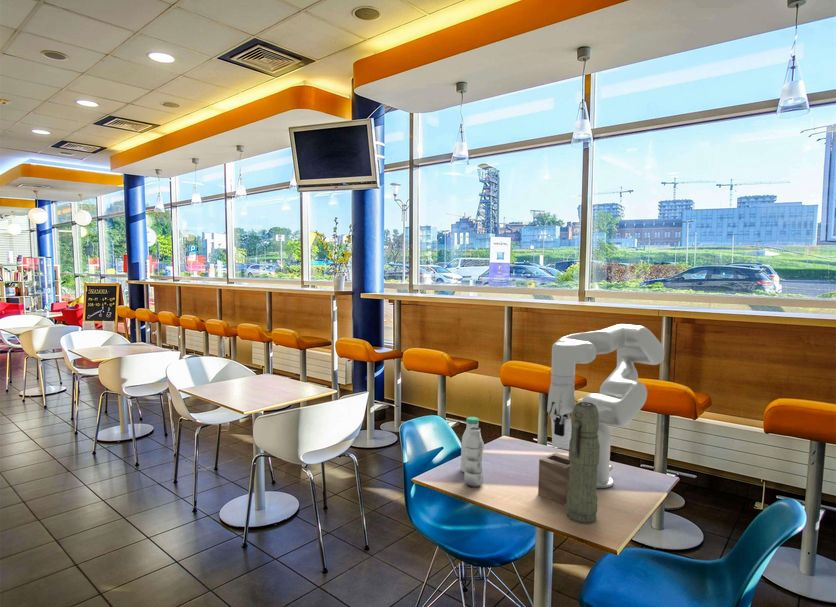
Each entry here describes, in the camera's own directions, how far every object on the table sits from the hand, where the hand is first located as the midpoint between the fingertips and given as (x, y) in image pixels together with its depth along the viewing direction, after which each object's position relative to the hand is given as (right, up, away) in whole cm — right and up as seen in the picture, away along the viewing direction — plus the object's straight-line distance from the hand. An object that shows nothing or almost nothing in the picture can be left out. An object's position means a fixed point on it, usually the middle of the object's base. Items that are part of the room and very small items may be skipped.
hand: (561, 433), depth 170 cm
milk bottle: (-28, -19, +20) cm, 40 cm away
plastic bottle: (-28, -20, +8) cm, 36 cm away
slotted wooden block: (0, -21, +1) cm, 21 cm away
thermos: (+2, -22, -14) cm, 26 cm away
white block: (0, -4, 0) cm, 4 cm away
